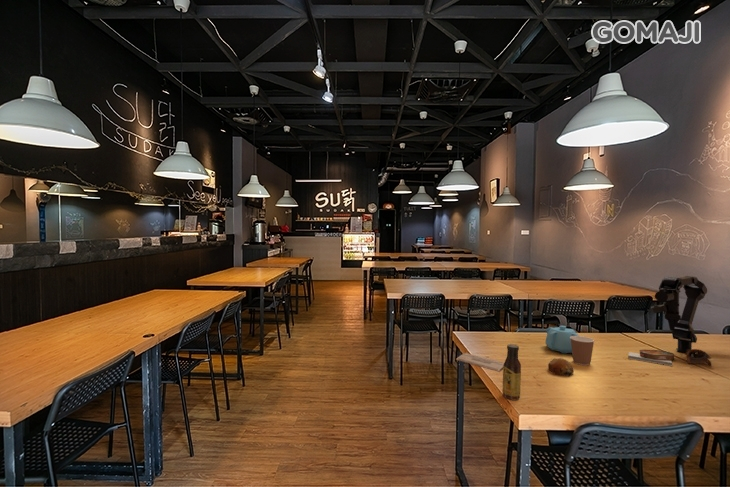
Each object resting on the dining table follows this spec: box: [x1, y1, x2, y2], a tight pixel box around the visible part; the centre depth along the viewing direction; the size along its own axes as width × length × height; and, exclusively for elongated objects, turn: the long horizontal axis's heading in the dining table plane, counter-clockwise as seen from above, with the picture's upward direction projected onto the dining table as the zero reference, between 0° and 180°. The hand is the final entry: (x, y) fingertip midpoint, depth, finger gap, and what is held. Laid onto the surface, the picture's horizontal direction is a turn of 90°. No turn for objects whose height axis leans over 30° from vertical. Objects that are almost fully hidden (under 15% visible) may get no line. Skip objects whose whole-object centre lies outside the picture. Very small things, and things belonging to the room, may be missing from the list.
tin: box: [639, 349, 676, 361], centre depth 178 cm, size 15×3×8 cm
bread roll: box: [547, 357, 574, 377], centre depth 158 cm, size 10×10×8 cm
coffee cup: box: [570, 335, 595, 366], centre depth 170 cm, size 10×10×12 cm
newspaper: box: [455, 352, 505, 372], centre depth 170 cm, size 23×12×2 cm, turn 46°
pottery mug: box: [686, 348, 712, 366], centre depth 171 cm, size 12×10×8 cm
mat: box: [627, 351, 673, 367], centre depth 177 cm, size 12×17×1 cm
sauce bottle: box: [502, 343, 522, 401], centre depth 132 cm, size 7×6×20 cm
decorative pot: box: [544, 325, 580, 355], centre depth 190 cm, size 16×16×14 cm
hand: (671, 330), depth 184 cm, fingers closed
